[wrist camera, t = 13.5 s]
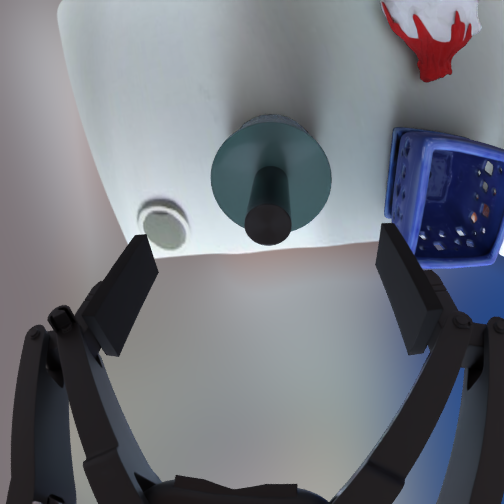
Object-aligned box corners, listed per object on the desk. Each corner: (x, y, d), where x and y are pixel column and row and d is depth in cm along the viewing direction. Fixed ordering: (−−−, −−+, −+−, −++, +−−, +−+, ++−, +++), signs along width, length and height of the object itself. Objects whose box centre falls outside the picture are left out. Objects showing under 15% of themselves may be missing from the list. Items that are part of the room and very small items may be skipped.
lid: (222, 231, 30) (202, 291, 22) (205, 126, 24) (171, 152, 16) (328, 226, 29) (344, 287, 21) (328, 118, 23) (354, 140, 15)
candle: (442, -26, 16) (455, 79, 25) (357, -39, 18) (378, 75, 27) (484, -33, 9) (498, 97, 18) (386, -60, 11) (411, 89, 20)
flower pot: (469, 128, 27) (527, 156, 17) (453, 218, 35) (495, 268, 25) (379, 113, 29) (424, 135, 19) (370, 216, 36) (400, 273, 26)
